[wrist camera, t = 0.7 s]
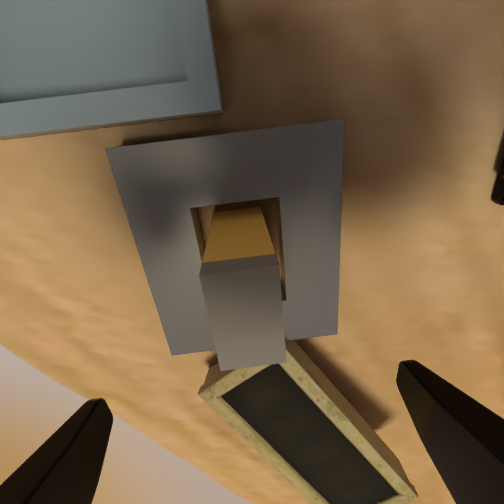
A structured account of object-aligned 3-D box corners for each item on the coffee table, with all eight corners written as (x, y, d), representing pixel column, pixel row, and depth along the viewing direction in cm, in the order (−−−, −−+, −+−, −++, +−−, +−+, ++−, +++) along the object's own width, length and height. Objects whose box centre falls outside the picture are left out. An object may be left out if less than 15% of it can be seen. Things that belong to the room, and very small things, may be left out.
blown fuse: (260, 206, 17) (279, 265, 10) (266, 274, 19) (286, 362, 12) (213, 212, 17) (199, 275, 10) (225, 279, 19) (220, 371, 12)
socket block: (331, 120, 15) (344, 119, 14) (328, 316, 21) (337, 334, 20) (120, 146, 15) (105, 148, 13) (177, 335, 21) (171, 355, 19)
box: (330, 474, 28) (343, 536, 24) (179, 329, 24) (157, 368, 20) (399, 439, 26) (428, 498, 22) (248, 274, 22) (242, 303, 18)
